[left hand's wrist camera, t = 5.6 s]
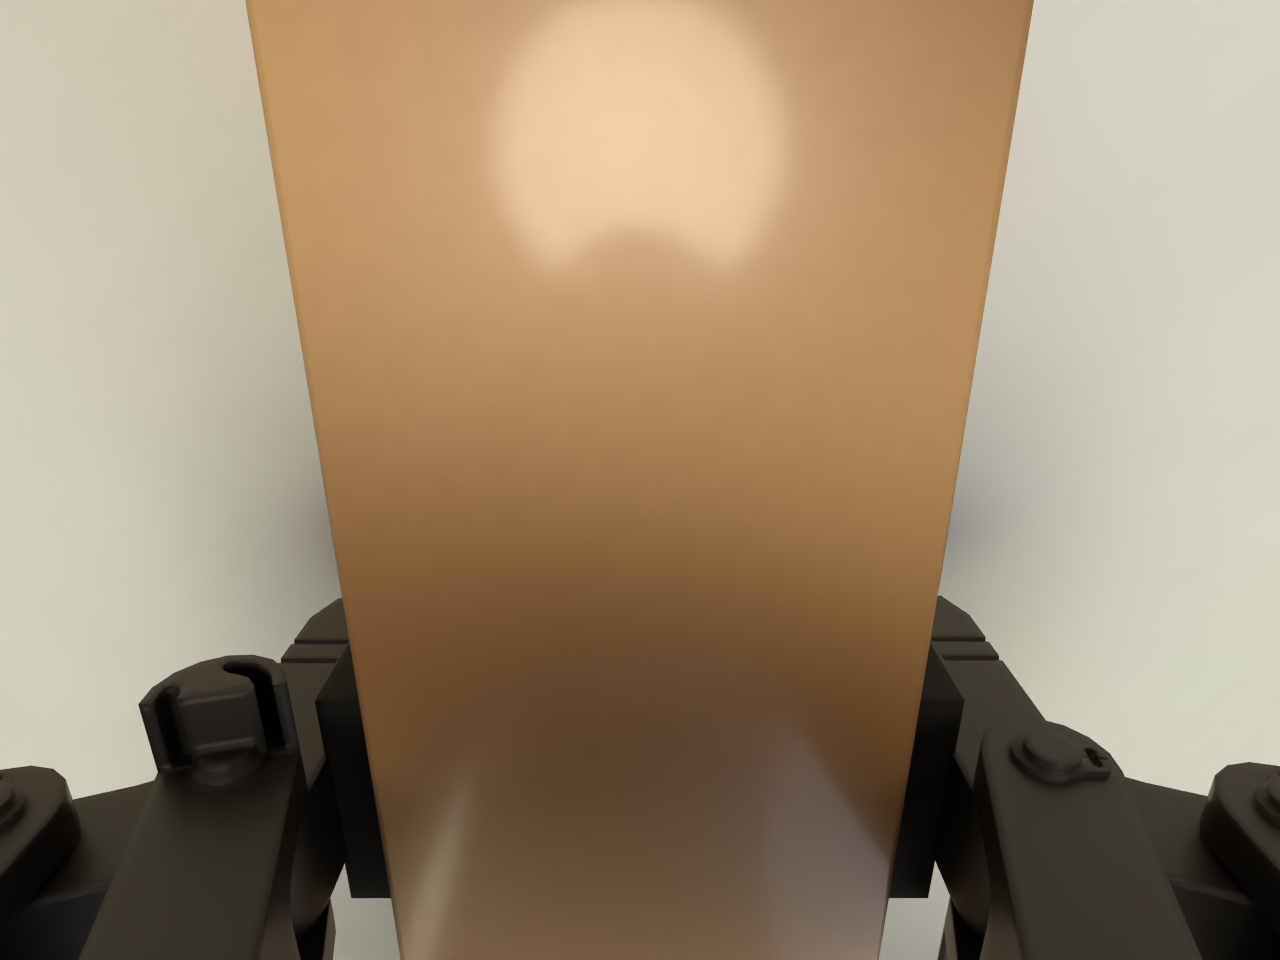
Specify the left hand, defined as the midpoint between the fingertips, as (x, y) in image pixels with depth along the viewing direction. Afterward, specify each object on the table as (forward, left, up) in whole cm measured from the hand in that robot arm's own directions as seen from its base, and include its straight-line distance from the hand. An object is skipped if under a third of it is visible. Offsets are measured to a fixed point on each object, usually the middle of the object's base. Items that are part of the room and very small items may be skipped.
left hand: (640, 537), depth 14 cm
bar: (+32, +7, -1) cm, 33 cm away
